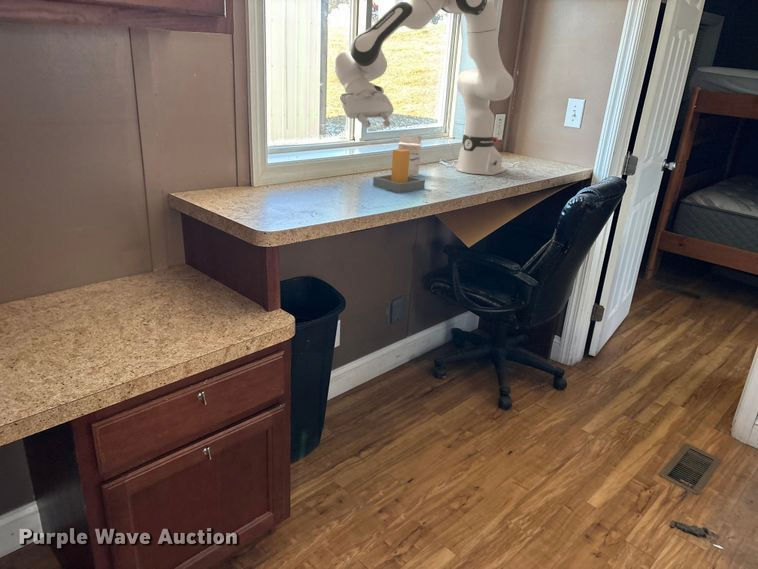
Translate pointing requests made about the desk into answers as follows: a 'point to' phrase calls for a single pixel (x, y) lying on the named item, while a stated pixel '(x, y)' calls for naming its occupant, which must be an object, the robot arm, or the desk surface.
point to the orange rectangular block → (400, 165)
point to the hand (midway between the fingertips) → (378, 125)
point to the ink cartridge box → (411, 151)
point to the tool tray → (398, 184)
